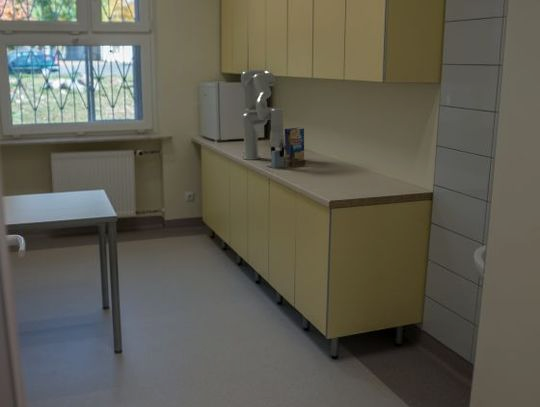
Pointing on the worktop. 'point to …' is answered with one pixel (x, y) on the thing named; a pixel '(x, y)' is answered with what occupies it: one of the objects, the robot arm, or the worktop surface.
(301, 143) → the blue printed long box
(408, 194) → the worktop surface
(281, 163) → the tall pale blue pillar
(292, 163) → the rack
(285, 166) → the mat
